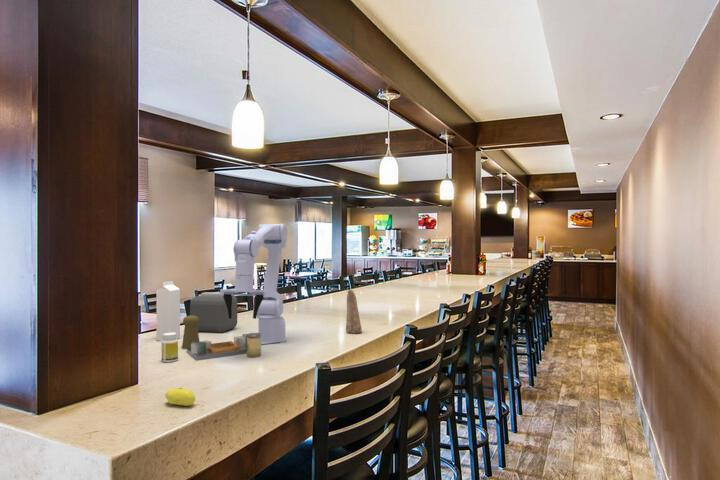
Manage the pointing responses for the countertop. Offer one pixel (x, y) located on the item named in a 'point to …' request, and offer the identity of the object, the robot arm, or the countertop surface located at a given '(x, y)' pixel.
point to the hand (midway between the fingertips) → (242, 318)
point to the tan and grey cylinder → (253, 345)
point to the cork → (190, 331)
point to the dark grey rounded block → (213, 312)
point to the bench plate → (218, 348)
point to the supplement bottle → (169, 347)
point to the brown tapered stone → (352, 315)
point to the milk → (168, 310)
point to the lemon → (180, 396)
